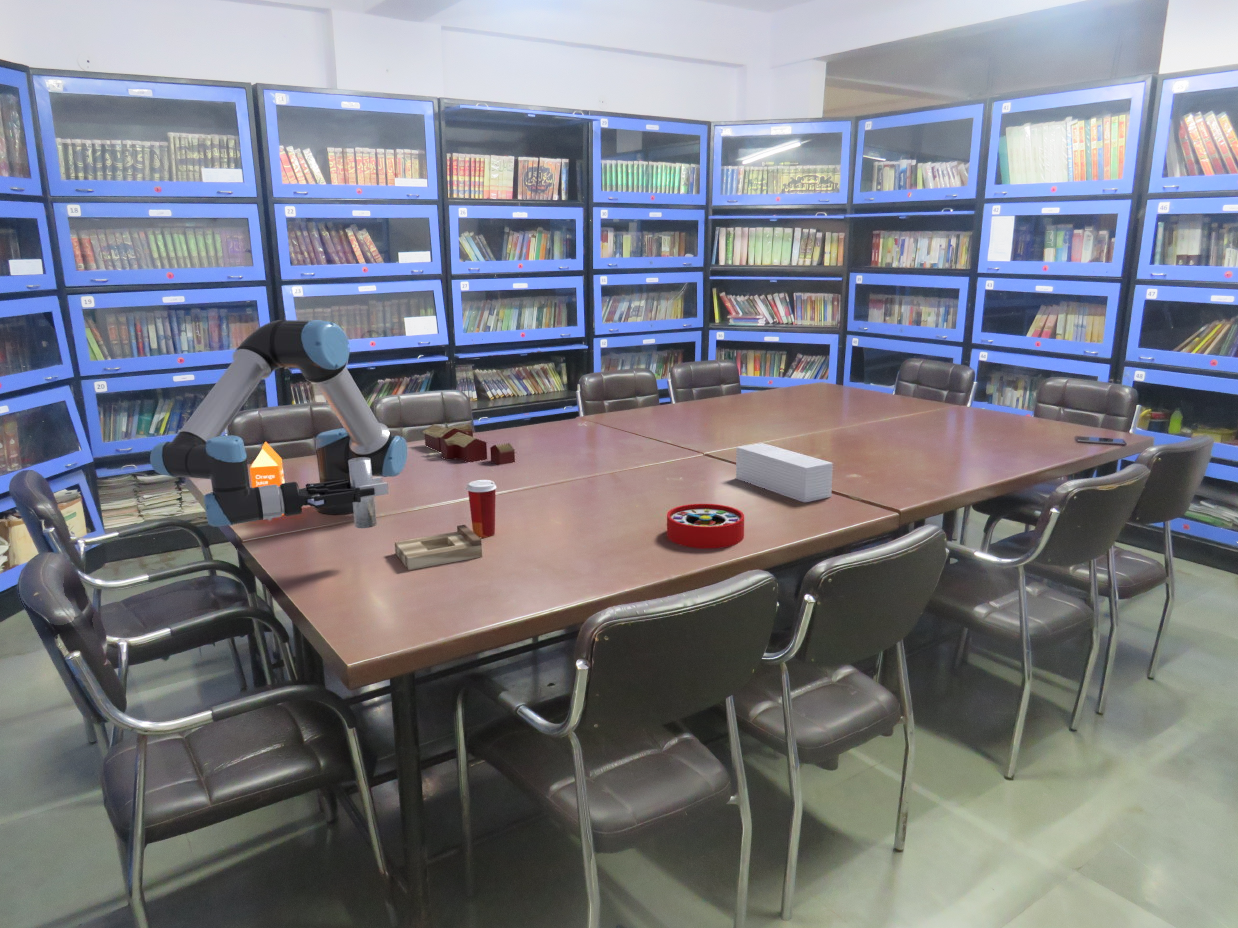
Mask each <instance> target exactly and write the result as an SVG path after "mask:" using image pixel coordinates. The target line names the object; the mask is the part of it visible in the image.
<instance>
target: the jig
mask: <svg viewBox="0 0 1238 928" xmlns="http://www.w3.org/2000/svg"><path fill="white" fill-rule="evenodd" d="M456 530H457V531H453V532H452V531H451V532H446V533H440V534H435V535H430V536H429V535H428V536H423V537H417V538H412V539H410V538H409V539H404V540H399V541H394V549H395V552H394V553H395V555H396V556H397V558H399V560H400V562H402V563H403V564H404V566H405V567H406V569H407V570H408V571H414V570H416V569H417V570H419V569H422V568H429V567H434V566H440V565H445V564H450V563H455V562H460V561H467V560H472V559H477V558H482V557H483V549H482V545H483V544H482V543H483V542H482V538H480V537H478V536H477V535H476V534H475V533H474V532H473V530H471V529H470V528H469V527H468V526H467V525H466V524H461V525H457V526H456Z"/></svg>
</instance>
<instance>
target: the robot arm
mask: <svg viewBox="0 0 1238 928" xmlns="http://www.w3.org/2000/svg"><path fill="white" fill-rule="evenodd" d="M349 345H350V343H349V339H348V336H347V334H346V333H345V331H344V329H343V328H341V327H340V326H339V325H338V324H336V323H334V322H333V321H332V322H331V321H327V320H321V319H313V320H290V319H289V320H287V319H277V320H273V321H270V322H268V323H265V324H264V325H261V326H260V327H258V328H257V329H256V330H254V331H253V332H252V333H251V334H250V335H248V336H247V337H246V338H245V339H244V340H243V341H242V342H241V343H240V345H238V346H237V348H236V349H235V350H234V352H233V353H232V360H233V361H232V362H231V363H230V364H229V366H228V367H227V368H226V369H225V370H224V372H223V373H222V375H221V376H220V377H219V379H218V380H217V382H215V385H214V386H213V387H212V388H211V389H210V391H209V392H208V393H207V395H206V396H205V397H204V399H203V400H202V401H201V402H200V403H199V405H198V407H197V408H196V410H194V412H193V413H192V415H190V417H189V418H188V420H187V421H186V422H185V424H184V425H183V426H182V427H181V429H180V430H179V431H178V433H177V434H176V435H175V436H174V438H173V440H172V441H163V442H159V443H158V444H156V445H154V447H153V448H152V450H151V452H150V455H149V456H150V457H149V461H150V465H151V467H152V469H153V470H154V472H155V473H157V474H158V475H163V476H167V477H172V478H189V479H191V478H193V479H201V480H203V479H204V480H210V482H211V488H212V489H211V492H210V493H205V495H203V501H204V508H205V515H206V520H207V524H208V525H209V526H211V527H223V526H233V525H234V526H235V525H240V524H245V523H251V522H256V521H263V520H267V521H269V522H271V521H272V520H273V519H275V518H281V517H282V516H285V517H290V516H296V515H300V514H302V511H303V507H304V506H309V507H314V509H315V510H316V512H318V513H321V514H325V515H345V514H352V513H353V514H354V512H353V502H358V503H359V502H361V498H366V497H372V496H374V497H377V496H378V497H379V496H384V495H385V496H386V495H389V494H390V493H389V484H388V483H389V482H387V481H385V482H383V478H390V477H392V478H393V477H397V476H399V475H400V474H401V473H402V472H403V470H404V468H405V466H406V462H407V459H408V444H407V442H406V439H405V438H404V437H402V436H400V435H393V434H392V432H391V430H390V429H389V427H388V426H387V425H386V424H384V423H382V422H379V421H378V420H377V417H376V416H375V414H374V413H373V411H372V409H371V407H370V406H369V404H368V402H367V401H366V399H365V398H364V395H363V394H362V392H361V390H360V389H359V387H358V386H357V383H356V382H355V380H354V379H353V376H352V375H351V373H350V372H349V370H348V368H347V365H348V363H349V359H350V352H351V351H350V349H351V348H350V347H349ZM281 368H293V369H294V368H295V369H298V370H299V371H300V372H301V374H302V376H303V378H304V379H305V380H306V381H308V382H309V383H312V384H316V386H317V388H318V389H319V391H320V392H321V394H322V396H323V397H324V399H325V400H326V402H327V403H328V405H329V406H330V409H331V410H332V412H333V413H334V415H335V416H336V418H337V419H338V421H339V422H340V424H341V426H342V427H341V428H335V429H331V430H327V431H322V432H320V433H318V434H317V435H316V437H315V452H316V461H317V469H318V471H317V472H318V477H319V482H316V483H313V482H312V483H306V484H305V487H303V488H300V486H299V484H298V483H297V482H296V481H290V482H285V483H282V484H281V485H280V486H277V485H276V484H273V485H266V486H260V487H254V488H252V487H251V484H250V477H249V468H248V459H247V458H248V457H247V456H248V455H247V452H246V449H245V448H246V447H245V444H244V440H243V438H242V437H240V436H238V435H223V433H224V432H225V430H226V429H227V427H229V425H230V424H231V423H232V421H233V420H234V418H235V416H237V414H238V412H239V411H240V410H241V409H242V407H243V406H244V404H245V403H246V401H248V398H249V397H250V396H251V395H252V393H253V392H254V391H255V389H256V387H257V386H258V385H259V383H260V382H261V381H262V380H265V379H267V378H269V377H270V376H271V375H272V373H273V372H274V371H276V370H277V369H281ZM359 457H367V458H370V459H371V469H372V479H373V484H372V485H365V486H359V488H351V483H350V473H349V463H348V460H350V459H353V458H359ZM282 514H284V515H282Z"/></svg>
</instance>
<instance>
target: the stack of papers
mask: <svg viewBox="0 0 1238 928" xmlns="http://www.w3.org/2000/svg"><path fill="white" fill-rule="evenodd" d="M735 454H736V457H735V458H736V460H735V461H736V462H735V479H736V480H739V481H742V482H744V481H745V483H747V482H748V484H750V483H751V485H754V486H756V487H759V488H763V489H764V488H765V490H768V491H771V492H774V493H776V494H779V495H782V496H785V497H788V498H790V499H793V500H795V501H798V502H802V503H809V502H813V501H819V500H824V499H827V498H831V497H832V491H833V489H832V487H833V486H832V485H833V472H834V471H833V470H834V463H833V462H831V461H827V460H824V459H819V458H817V457H814V456H810V455H806V454H802V453H799V452H795V451H792V450H788V449H785V448H782V447H777V446H774V445H771V444H766V443H763V442H761V443H755V444H747V445H741V446H736V453H735Z"/></svg>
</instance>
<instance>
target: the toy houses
mask: <svg viewBox="0 0 1238 928" xmlns="http://www.w3.org/2000/svg"><path fill="white" fill-rule="evenodd" d="M473 431H474V429H473V428H472V427H471V425H470V424H469V423H467V424H466V423H465V424H458V425H454V426H453V425H452V426H451V425H449V426H441V425H438V424H436V423H433V424H431V425H430V426H428V427H427V428H426V429H424V430H423V431H422V433H423V434H424V445H426V446H428V447H430V448H432V449H435V450H437V451H439V452H441V453H440V456H441V458H442V457H443V458H442V459H444V458H445V459H444V460H446V459H451V460H456V459H455V458H457V459H458V460H460V459H461V460H460V461H462V460H463V462H465V461H466V462H465V463H467V462H470V463H474V461H475V462H481V461H485V460H486V459H487V460H488V448H487V447H488V445H487V444H488V442H487V441H485V440H482V439H479V438H476V437H475V435H474V432H473ZM426 446H425V447H426ZM428 447H427V448H428ZM430 448H429V449H430ZM432 449H431V450H432ZM489 449H490V462H492V463H494V464H497V465H499V466H502V465H508V464H514V463H516V457H515V456H516V455H515V454H517V452H515V451H516V450H515V448H514V447H513V446H512V445H511V444H510V442H505V443H499V444H493V445H492V446H490V447H489ZM435 450H434V451H435ZM437 451H436V452H437ZM439 452H438V453H439ZM480 460H481V461H480ZM487 460H486V461H487ZM513 462H514V463H513Z"/></svg>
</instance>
